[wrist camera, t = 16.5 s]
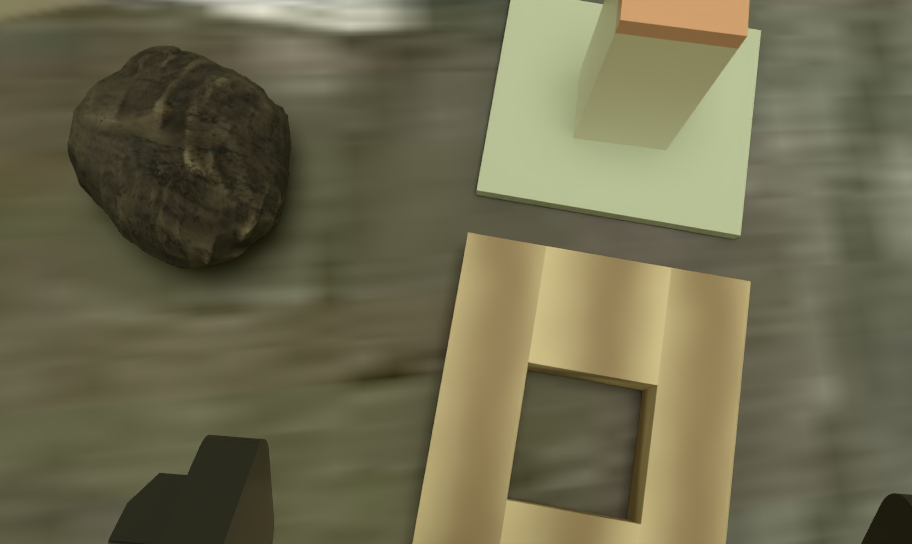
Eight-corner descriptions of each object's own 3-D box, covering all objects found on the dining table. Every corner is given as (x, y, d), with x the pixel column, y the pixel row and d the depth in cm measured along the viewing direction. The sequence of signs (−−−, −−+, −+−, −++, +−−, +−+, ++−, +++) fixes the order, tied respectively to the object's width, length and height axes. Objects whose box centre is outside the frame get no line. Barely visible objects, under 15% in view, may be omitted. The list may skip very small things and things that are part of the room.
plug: (573, 137, 43) (620, 19, 32) (580, 70, 44) (628, -69, 33) (665, 150, 43) (747, 36, 32) (671, 82, 44) (752, -54, 33)
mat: (476, 194, 44) (476, 190, 43) (511, -3, 46) (512, -11, 45) (735, 239, 43) (740, 235, 42) (755, 37, 46) (760, 30, 45)
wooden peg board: (402, 606, 39) (399, 618, 36) (466, 247, 43) (468, 232, 40) (692, 660, 38) (713, 676, 36) (729, 293, 42) (750, 281, 40)
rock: (135, 52, 44) (68, -30, 34) (330, 128, 45) (320, 69, 35) (61, 224, 43) (-30, 190, 33) (262, 298, 44) (232, 287, 34)
